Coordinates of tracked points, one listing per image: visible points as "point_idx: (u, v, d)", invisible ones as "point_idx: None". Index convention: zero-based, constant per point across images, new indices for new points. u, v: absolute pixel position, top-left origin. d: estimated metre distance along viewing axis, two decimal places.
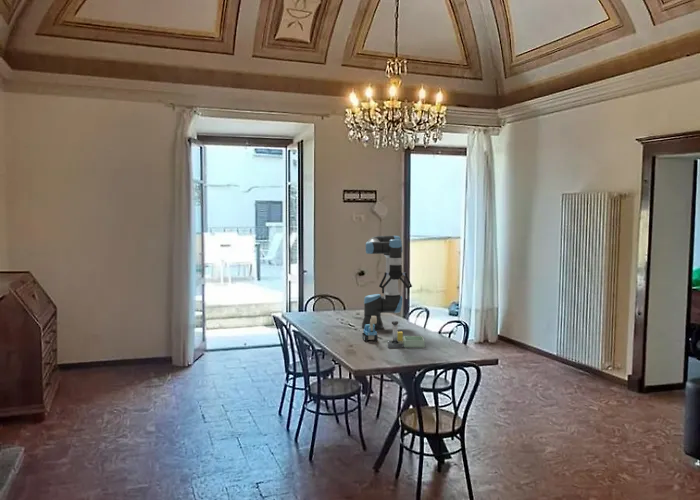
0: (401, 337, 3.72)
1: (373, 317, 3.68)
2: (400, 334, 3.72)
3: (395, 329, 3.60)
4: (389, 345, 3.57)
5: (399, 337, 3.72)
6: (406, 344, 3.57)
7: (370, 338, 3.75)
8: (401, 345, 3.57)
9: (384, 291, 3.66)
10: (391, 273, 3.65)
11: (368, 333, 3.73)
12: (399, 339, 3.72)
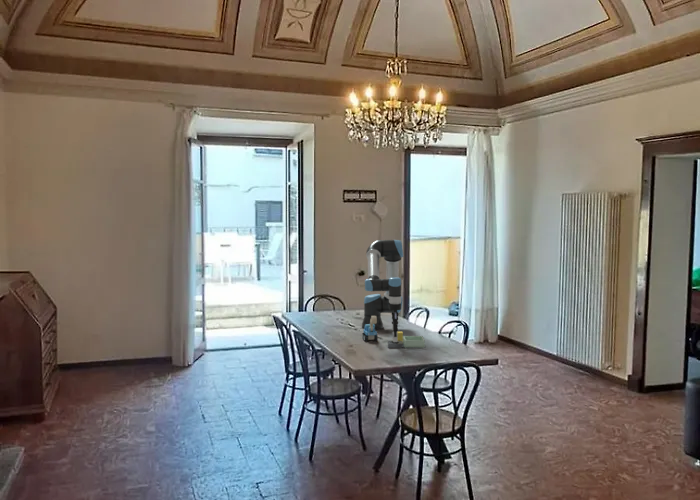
0: (401, 337, 3.72)
1: (373, 317, 3.68)
2: (400, 334, 3.72)
3: None
4: (389, 345, 3.57)
5: (399, 337, 3.72)
6: (406, 344, 3.57)
7: (370, 338, 3.75)
8: (401, 345, 3.57)
9: None
10: None
11: (368, 333, 3.73)
12: (399, 339, 3.72)
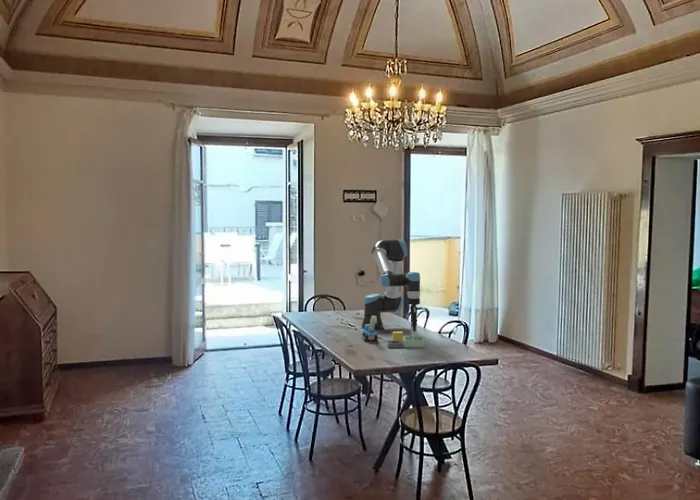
0: (401, 337, 3.72)
1: (373, 317, 3.68)
2: (400, 334, 3.72)
3: None
4: (389, 345, 3.57)
5: (399, 337, 3.72)
6: (406, 344, 3.57)
7: (370, 338, 3.75)
8: (401, 345, 3.57)
9: None
10: (411, 305, 3.65)
11: (368, 333, 3.73)
12: (399, 339, 3.72)
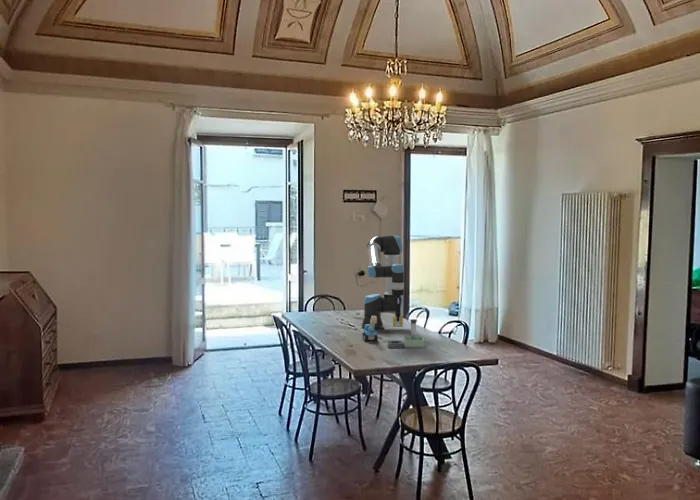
0: (401, 321, 3.72)
1: (373, 317, 3.68)
2: (400, 319, 3.72)
3: (414, 327, 3.61)
4: (389, 345, 3.57)
5: None
6: (406, 344, 3.57)
7: (370, 338, 3.75)
8: (401, 345, 3.57)
9: None
10: None
11: (368, 333, 3.73)
12: None
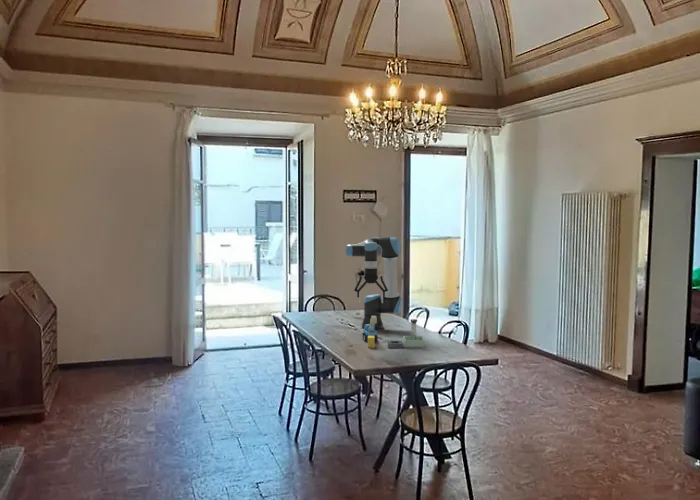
0: None
1: (373, 317, 3.68)
2: None
3: (414, 327, 3.61)
4: (389, 345, 3.57)
5: None
6: (406, 344, 3.57)
7: None
8: (401, 345, 3.57)
9: (359, 295, 3.59)
10: (366, 277, 3.58)
11: (368, 333, 3.73)
12: None
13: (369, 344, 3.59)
